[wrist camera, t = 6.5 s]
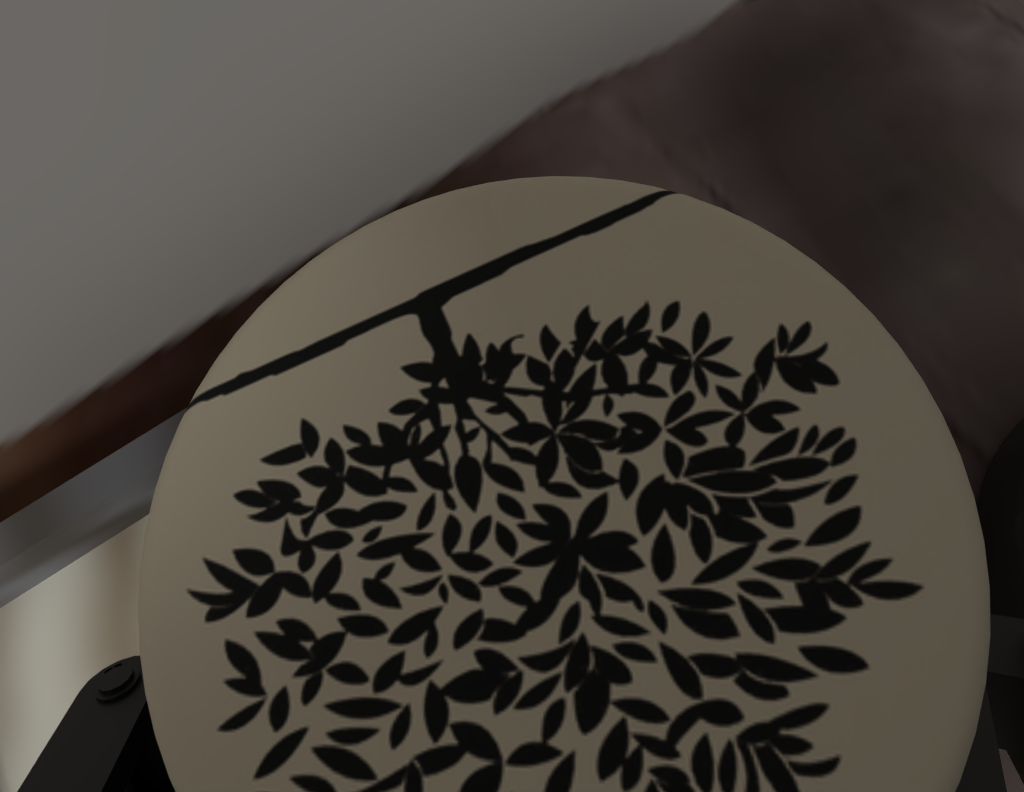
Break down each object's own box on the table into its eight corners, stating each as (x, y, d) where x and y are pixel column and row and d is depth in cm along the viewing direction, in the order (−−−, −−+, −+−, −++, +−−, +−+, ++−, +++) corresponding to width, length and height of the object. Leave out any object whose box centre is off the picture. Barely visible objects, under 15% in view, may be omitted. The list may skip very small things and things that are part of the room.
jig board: (270, 385, 28) (221, 346, 24) (489, 789, 22) (468, 820, 18) (-71, 598, 26) (-179, 591, 23) (58, 1104, 20) (-64, 1210, 16)
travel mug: (737, 699, 21) (1302, 939, 4) (500, 767, 21) (111, 1260, 4) (653, 469, 24) (779, 61, 7) (446, 530, 24) (92, 272, 7)
